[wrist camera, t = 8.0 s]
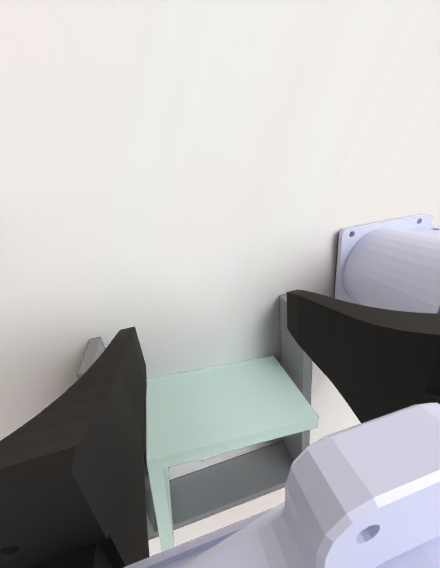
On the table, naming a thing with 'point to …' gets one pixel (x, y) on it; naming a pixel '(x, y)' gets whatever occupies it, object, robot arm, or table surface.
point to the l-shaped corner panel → (216, 419)
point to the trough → (238, 471)
